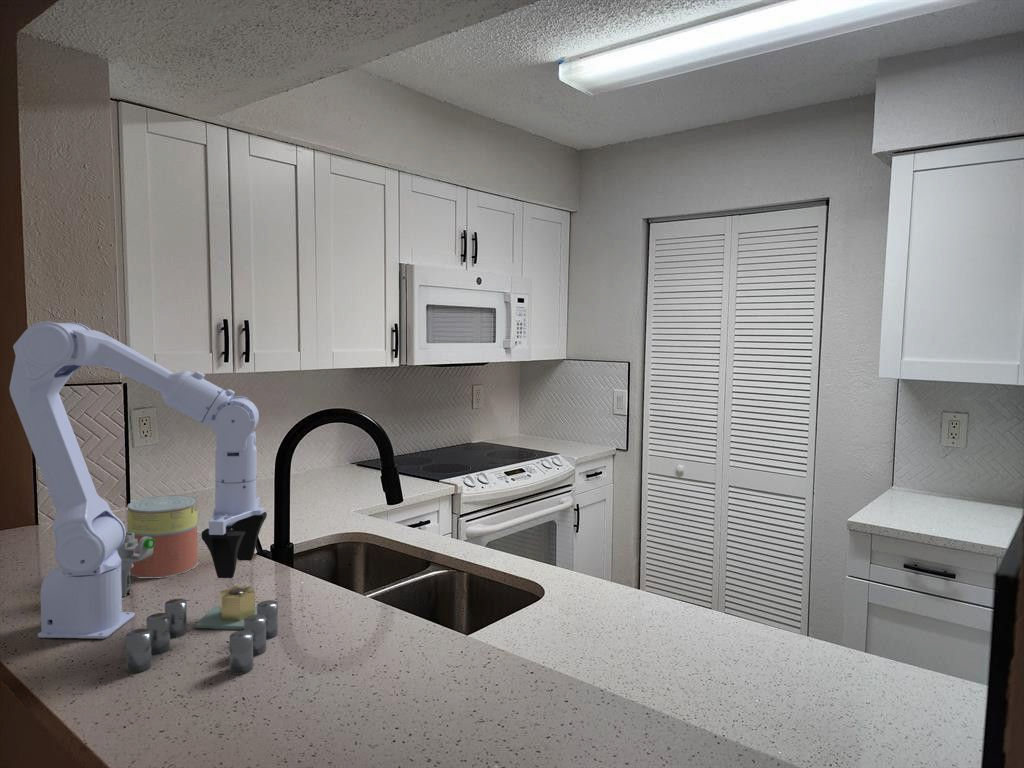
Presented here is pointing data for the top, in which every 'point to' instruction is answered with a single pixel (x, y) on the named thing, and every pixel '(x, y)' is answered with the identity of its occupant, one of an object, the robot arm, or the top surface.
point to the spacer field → (176, 624)
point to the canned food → (165, 534)
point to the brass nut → (236, 603)
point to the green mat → (219, 621)
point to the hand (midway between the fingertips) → (235, 568)
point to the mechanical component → (133, 556)
